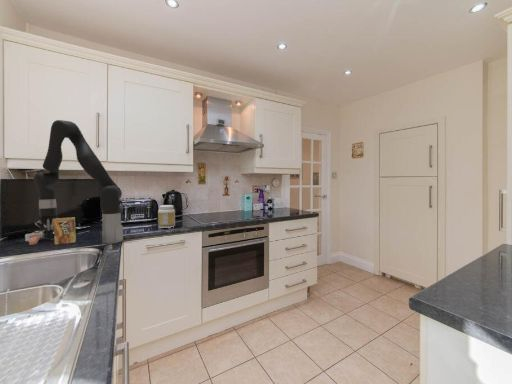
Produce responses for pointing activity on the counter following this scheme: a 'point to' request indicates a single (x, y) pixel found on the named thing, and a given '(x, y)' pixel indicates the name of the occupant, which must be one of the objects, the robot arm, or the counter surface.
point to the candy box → (64, 230)
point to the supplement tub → (166, 216)
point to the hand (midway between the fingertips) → (49, 236)
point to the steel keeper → (28, 236)
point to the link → (34, 239)
